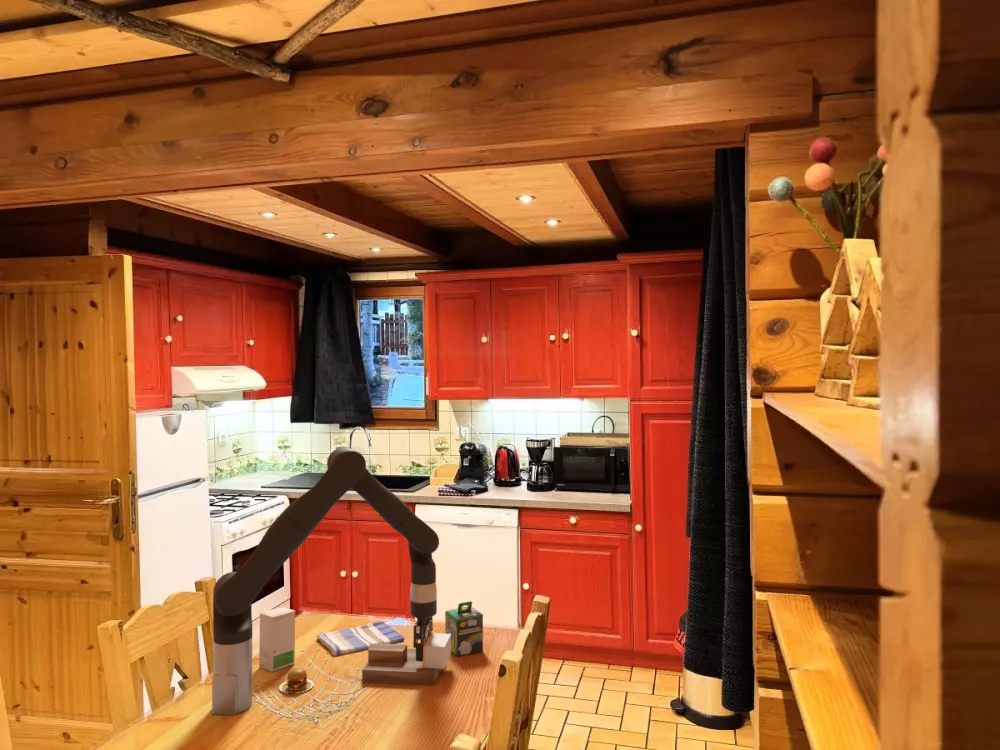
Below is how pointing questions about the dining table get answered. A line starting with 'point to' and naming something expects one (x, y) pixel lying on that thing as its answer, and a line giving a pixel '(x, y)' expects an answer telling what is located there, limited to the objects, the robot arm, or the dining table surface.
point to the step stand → (396, 666)
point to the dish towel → (359, 638)
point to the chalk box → (465, 629)
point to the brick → (437, 650)
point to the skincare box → (277, 639)
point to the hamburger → (297, 680)
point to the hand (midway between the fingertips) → (423, 654)
